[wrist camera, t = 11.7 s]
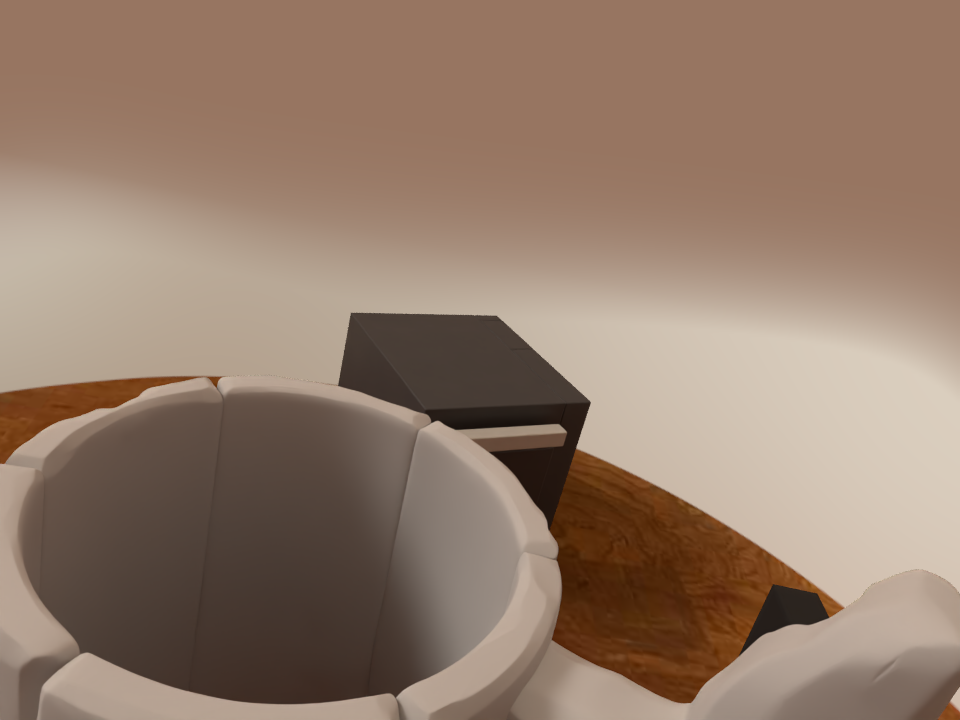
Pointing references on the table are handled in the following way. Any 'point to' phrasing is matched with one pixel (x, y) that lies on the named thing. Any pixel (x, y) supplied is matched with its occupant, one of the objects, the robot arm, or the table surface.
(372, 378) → the oven
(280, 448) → the mug
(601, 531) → the table surface
